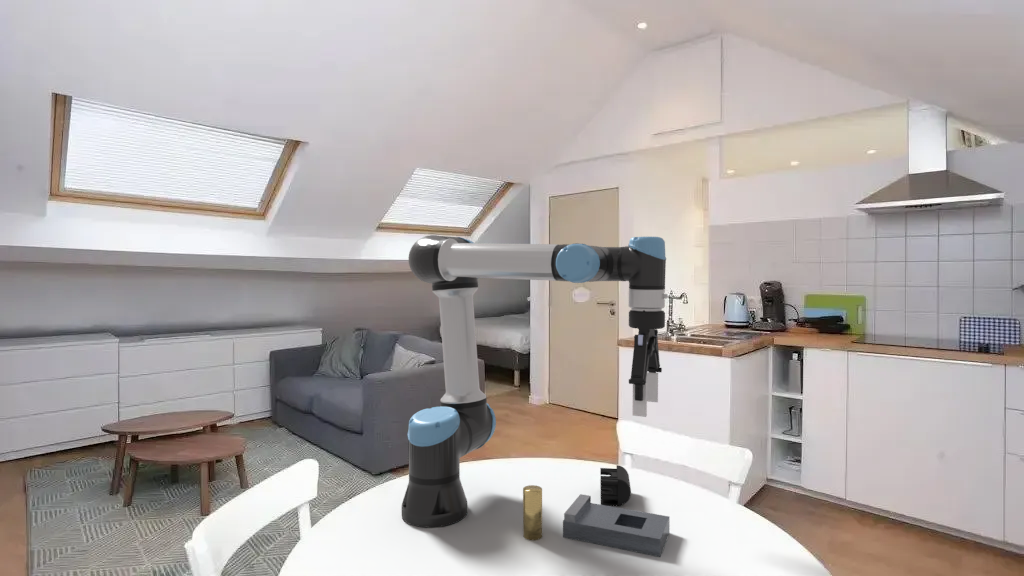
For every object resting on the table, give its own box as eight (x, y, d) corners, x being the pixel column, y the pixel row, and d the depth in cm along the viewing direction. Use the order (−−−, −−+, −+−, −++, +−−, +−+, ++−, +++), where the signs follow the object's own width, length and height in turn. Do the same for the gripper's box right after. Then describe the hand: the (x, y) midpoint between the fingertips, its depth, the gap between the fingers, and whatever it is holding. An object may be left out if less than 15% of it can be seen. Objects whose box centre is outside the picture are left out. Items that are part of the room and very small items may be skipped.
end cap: (631, 508, 130) (631, 480, 130) (600, 506, 131) (600, 478, 131) (628, 491, 140) (628, 465, 140) (600, 490, 141) (600, 464, 141)
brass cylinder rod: (520, 538, 116) (520, 490, 115) (527, 530, 119) (527, 484, 119) (538, 541, 114) (537, 493, 114) (545, 533, 118) (544, 487, 117)
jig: (563, 537, 116) (562, 513, 116) (579, 516, 126) (579, 493, 126) (660, 557, 107) (660, 531, 107) (669, 532, 117) (669, 509, 117)
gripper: (654, 314, 105) (653, 424, 106) (673, 306, 128) (672, 397, 128) (615, 312, 108) (614, 420, 109) (640, 305, 131) (639, 394, 131)
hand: (645, 408), depth 119 cm, fingers open, 13 cm apart
